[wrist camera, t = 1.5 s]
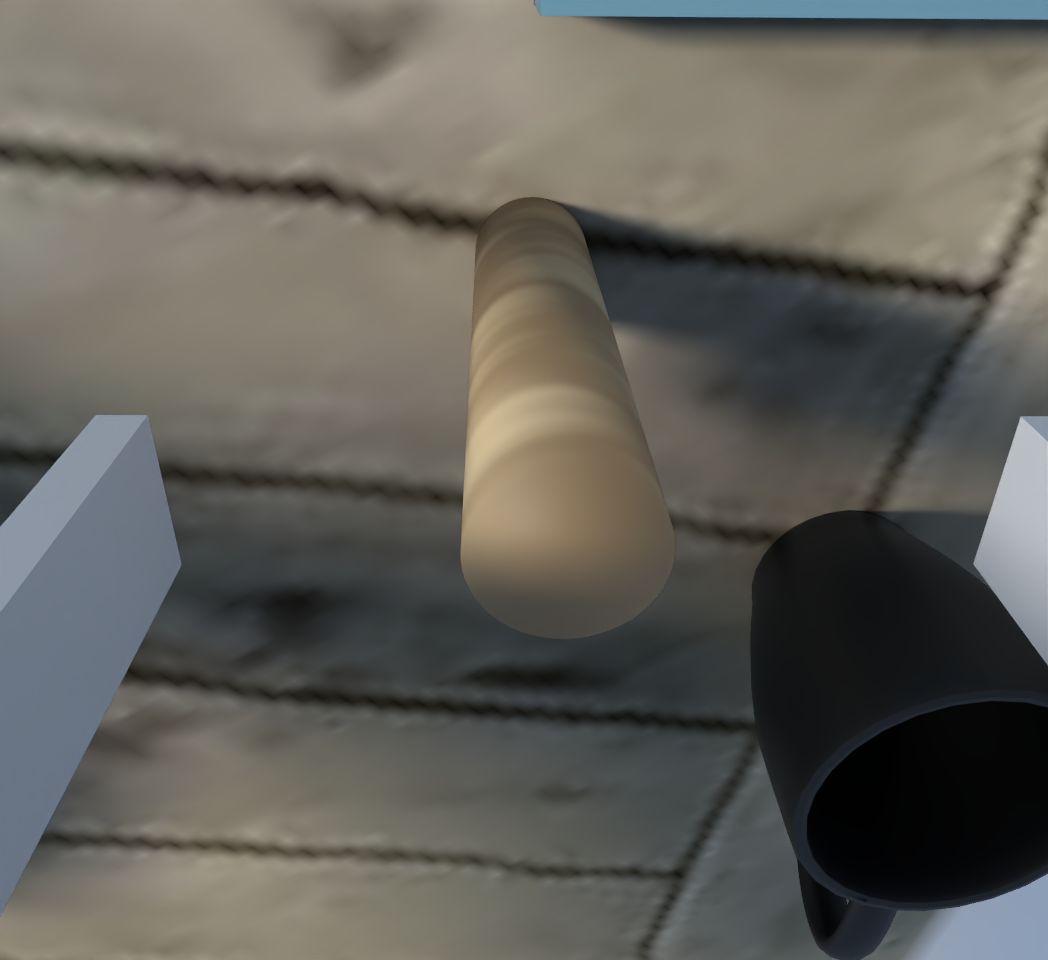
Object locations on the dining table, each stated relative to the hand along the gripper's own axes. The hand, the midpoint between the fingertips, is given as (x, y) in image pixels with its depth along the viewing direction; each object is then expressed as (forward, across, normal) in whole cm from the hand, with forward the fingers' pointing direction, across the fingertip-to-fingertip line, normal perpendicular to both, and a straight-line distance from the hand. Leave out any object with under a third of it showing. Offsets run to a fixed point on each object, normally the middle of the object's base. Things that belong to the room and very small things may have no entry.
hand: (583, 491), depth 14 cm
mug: (+13, +9, -13) cm, 20 cm away
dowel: (+12, -1, 0) cm, 12 cm away
